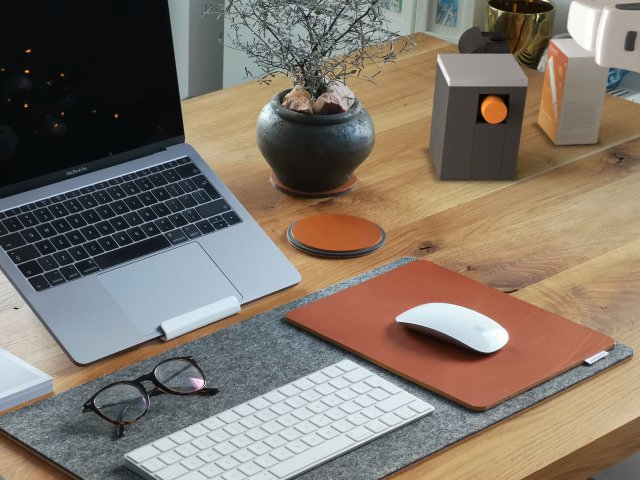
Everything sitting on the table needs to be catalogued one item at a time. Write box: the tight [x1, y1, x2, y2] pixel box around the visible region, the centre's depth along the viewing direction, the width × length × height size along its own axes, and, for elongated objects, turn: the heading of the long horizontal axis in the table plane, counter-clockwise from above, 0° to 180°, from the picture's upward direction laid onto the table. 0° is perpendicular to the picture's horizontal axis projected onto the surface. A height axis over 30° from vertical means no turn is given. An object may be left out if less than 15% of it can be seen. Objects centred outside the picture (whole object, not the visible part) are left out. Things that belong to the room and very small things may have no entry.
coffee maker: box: [428, 53, 529, 181], centre depth 148 cm, size 10×10×14 cm
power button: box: [480, 94, 507, 124], centre depth 143 cm, size 3×3×3 cm
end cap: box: [457, 25, 511, 54], centre depth 181 cm, size 10×7×7 cm
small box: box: [537, 37, 611, 146], centre depth 158 cm, size 8×6×13 cm
